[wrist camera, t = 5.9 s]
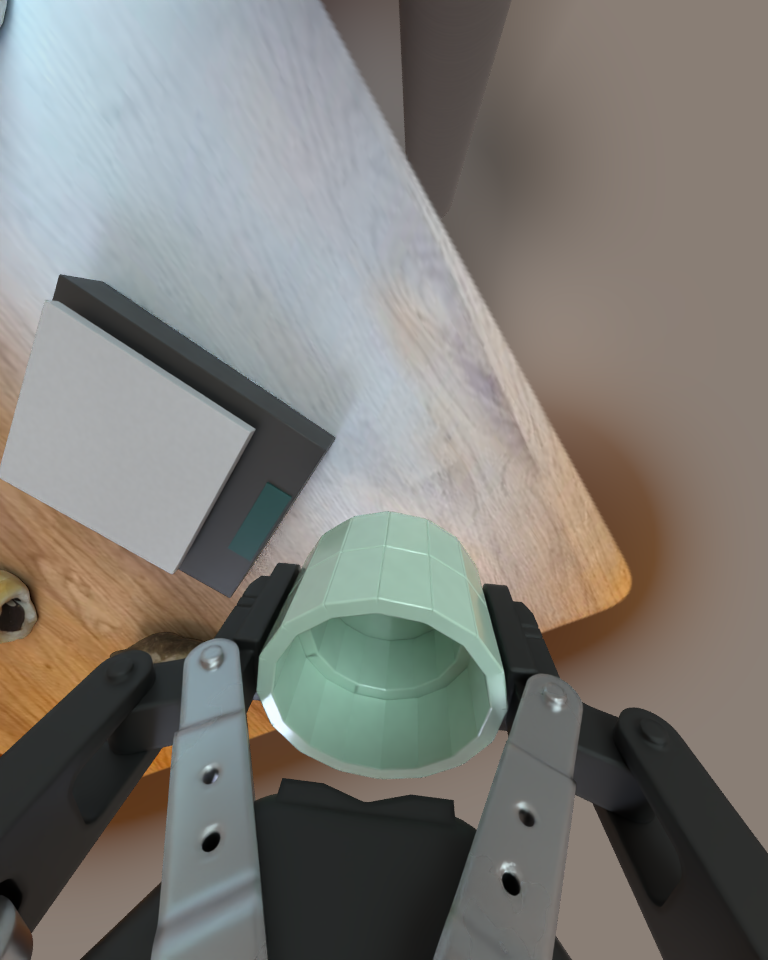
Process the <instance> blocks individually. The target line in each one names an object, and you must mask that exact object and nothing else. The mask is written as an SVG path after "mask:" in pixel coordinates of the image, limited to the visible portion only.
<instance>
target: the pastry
mask: <svg viewBox="0 0 768 960" xmlns="http://www.w3.org/2000/svg"><path fill="white" fill-rule="evenodd" d="M36 622H37V614H36V610H35V607H34V605H33V603H32V602H31V600H30V595H29V590H28V588H27V587H26V585H25V584H24V583H22V582H21V580H20V579H19V577H17V576H15V575H13V574H11V573H9V572H7V571H5V570H0V643H5V642H11V641H14V640H16V639H23V638H24V637H26V636H27V635H28V634H29V633H30V632H31V631H32V628H33V625H34V624H35V623H36Z"/></svg>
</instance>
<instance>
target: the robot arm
mask: <svg viewBox="0 0 768 960" xmlns="http://www.w3.org/2000/svg"><path fill="white" fill-rule="evenodd" d="M300 571H301V568H300V565H297V564H287V563H278V564H277V565H276V567H275V569H274V570H273V572H272V574H271V575H270V576H260V577H259V578H258V579H256V580H255V581H253V582H252V583H251V584H250V585H249V586H248V588H247V589H246V591H245V592H244V594H243V596H242V597H241V598H240V600H239V601H238V603H237V606H235V607H234V609H233V610H232V612H231V613H230V615H229V616H228V618H227V619H226V621H225V622H224V624H223V625H222V627H221V629H220V630H219V632H218V633H217V635H216V636H215V638H214V639H212V640H208V641H206V642H203V643H201V644H200V645H198V646H197V647H195V648H194V649H193V650H192V651H191V652H190V653H189V654H188V656H187V657H186V658H183V659H179V660H173V661H166V662H160V663H154V664H153V661H152V658H151V656H150V655H149V654H148V653H147V652H145V651H141V650H131V651H126V652H122V653H119V654H117V655H114V656H112V657H111V658H109V659H107V660H106V661H104V662H103V663H101V664H100V665H99V666H98V667H97V668H96V669H95V670H93V671H92V672H91V673H90V674H89V675H88V676H87V677H86V678H85V679H84V680H83V681H82V682H81V683H80V684H78V685H77V686H76V687H75V688H74V689H73V690H72V691H71V692H70V693H69V694H68V695H67V696H66V697H65V698H63V699H62V700H61V701H60V702H59V703H58V704H57V705H56V706H55V707H54V708H53V709H52V710H51V711H49V712H48V713H47V714H46V715H45V716H44V717H43V718H42V719H41V720H40V721H39V722H38V723H37V724H36V725H34V726H33V727H32V728H31V729H30V730H29V731H28V732H27V733H26V734H25V735H24V736H23V737H22V738H20V739H19V740H18V741H17V742H16V743H15V744H14V745H13V746H12V747H11V748H10V749H9V750H8V751H7V752H5V753H4V754H3V755H2V756H1V757H0V960H31V956H32V950H33V938H32V934H31V933H32V932H33V930H34V929H35V927H36V926H37V925H38V923H39V922H40V920H41V919H42V917H43V916H44V915H45V913H46V912H47V911H48V909H49V907H50V906H51V905H52V903H53V902H54V901H55V899H56V898H57V896H58V895H59V893H60V892H61V891H62V889H63V888H64V886H65V885H66V884H67V882H68V881H69V879H70V878H71V877H72V875H73V874H74V872H75V871H76V869H77V868H78V867H79V865H80V864H81V862H82V860H84V858H85V857H86V855H87V854H88V852H89V851H90V849H91V848H92V847H93V845H94V844H95V842H96V841H97V840H98V838H99V837H100V835H101V834H102V832H103V831H104V830H105V828H106V827H107V825H108V824H109V823H110V821H111V820H112V818H113V817H114V815H115V814H116V813H117V811H118V810H119V808H120V807H121V806H122V804H123V803H124V801H125V800H126V799H127V797H128V796H129V794H130V793H131V791H132V790H133V789H134V787H135V786H136V784H137V783H138V782H139V780H140V779H141V777H142V776H143V774H144V773H145V772H146V770H147V769H148V767H149V766H150V765H151V763H152V762H153V760H154V759H155V757H156V756H157V755H158V753H159V752H160V750H161V749H162V748H163V747H167V746H171V745H173V747H172V760H171V773H170V784H169V796H168V809H167V821H166V833H165V846H164V858H163V871H162V882H161V883H160V884H159V885H158V886H157V887H155V888H154V889H153V890H152V891H151V892H150V893H149V894H148V895H147V896H146V897H145V898H144V899H143V900H142V901H141V902H140V903H139V904H138V905H137V906H136V907H135V908H134V909H132V910H131V911H130V912H129V913H128V914H127V915H126V916H125V917H124V918H123V919H122V920H121V921H120V922H119V923H118V924H117V925H116V926H115V927H114V928H113V929H112V930H110V931H109V932H108V933H107V934H106V935H105V936H104V937H103V938H102V939H101V940H100V941H99V942H98V943H97V944H96V945H95V946H94V947H93V948H92V949H91V950H89V951H88V952H87V953H86V954H85V955H84V956H83V957H82V958H81V959H80V960H572V959H571V958H570V956H569V955H568V953H567V952H566V950H565V949H564V947H563V946H562V944H561V943H560V942H559V940H558V938H557V937H556V928H557V921H558V913H559V906H560V898H561V892H562V885H563V877H564V870H565V863H566V856H567V849H568V842H569V834H570V827H571V820H572V813H573V805H574V798H575V795H577V796H579V797H581V798H584V799H585V800H587V801H590V802H592V803H593V805H594V807H595V810H596V812H597V814H598V816H599V818H600V821H601V823H602V825H603V827H604V830H605V832H606V834H607V836H608V838H609V841H610V843H611V845H612V847H613V849H614V851H615V854H616V856H617V858H618V860H619V863H620V865H621V867H622V869H623V871H624V874H625V876H626V878H627V880H628V882H629V885H630V887H631V889H632V891H633V893H634V896H635V898H636V900H637V903H638V905H639V907H640V909H641V911H642V914H643V916H644V918H645V920H646V922H647V925H648V927H649V929H650V931H651V933H652V936H653V938H654V940H655V942H656V944H657V946H658V949H659V951H660V953H661V956H662V958H663V960H768V853H767V852H766V850H765V849H764V848H763V846H762V845H761V844H760V842H759V841H758V840H757V838H756V837H755V836H754V834H753V833H752V832H751V830H750V829H749V828H748V826H747V825H746V824H745V822H744V821H743V819H742V818H741V817H740V816H739V814H738V813H737V811H736V810H735V809H734V807H733V806H732V805H731V803H730V802H729V801H728V800H727V798H726V797H725V795H724V794H723V793H722V791H721V790H720V789H719V787H718V786H717V785H716V783H715V782H714V781H713V779H712V778H711V776H710V775H709V774H708V772H707V771H706V770H705V768H704V767H703V766H702V764H701V763H700V762H699V760H698V759H697V758H696V756H695V755H694V754H693V752H692V751H691V750H690V748H689V747H688V746H687V744H686V743H685V742H684V740H683V739H682V738H681V736H680V735H679V734H678V733H677V732H676V730H675V729H674V728H673V727H672V726H671V725H670V724H668V723H667V722H666V721H665V720H663V719H662V718H660V717H659V716H657V715H655V714H654V713H651V712H649V711H647V710H644V709H640V708H627V709H625V710H623V711H622V712H621V714H620V716H619V718H618V717H616V716H613V715H611V714H608V713H606V712H603V711H600V710H597V709H595V708H593V707H590V706H588V705H586V704H585V703H583V702H581V699H580V697H579V696H578V694H577V693H576V691H575V690H574V689H573V688H572V687H571V686H570V685H569V684H568V683H566V682H565V681H563V680H561V679H560V677H559V675H558V672H557V670H556V668H555V665H554V663H553V660H552V658H551V656H550V653H549V651H548V648H547V646H546V644H545V641H544V639H542V634H541V632H540V629H538V624H537V622H536V620H535V617H534V615H533V613H532V612H531V611H530V610H529V609H528V608H527V607H526V606H525V605H524V604H523V603H522V602H514V601H513V600H512V597H511V595H510V592H509V589H508V587H507V586H505V585H495V584H484V585H483V593H484V597H485V600H486V604H487V608H488V612H489V615H490V619H491V623H492V627H493V631H494V634H495V638H496V642H497V646H498V650H499V654H500V657H501V661H502V665H503V669H504V673H505V682H506V690H507V699H508V711H507V713H506V715H505V717H504V719H503V721H502V723H501V726H500V728H499V730H504V731H507V732H508V740H507V741H506V744H505V747H504V750H503V753H502V756H501V759H500V762H499V765H498V768H497V771H496V774H495V777H494V780H493V783H492V786H491V789H490V792H489V795H488V798H487V801H486V804H485V807H484V810H483V813H482V816H481V819H480V822H479V825H478V828H477V830H476V829H475V828H473V827H472V826H470V825H469V824H467V823H466V822H464V821H463V820H461V819H459V818H456V817H455V813H454V800H448V799H440V798H432V797H425V796H417V795H406V796H401V797H395V798H390V799H384V800H379V801H373V802H363V801H360V800H358V799H356V798H354V797H352V796H350V795H347V794H345V793H343V792H341V791H339V790H337V789H335V788H332V787H330V786H328V785H326V784H324V783H316V782H309V781H301V780H294V779H286V778H282V781H281V785H280V788H279V791H278V794H273V795H269V796H266V797H263V798H260V799H258V800H256V801H255V793H254V783H253V773H252V763H251V753H250V744H249V733H248V723H247V714H246V713H247V711H248V709H249V707H250V704H251V702H252V700H259V701H260V699H259V697H258V694H257V691H256V688H257V675H258V663H259V656H260V653H261V651H262V649H263V647H264V645H265V643H266V641H267V639H268V637H269V635H270V633H271V630H272V628H273V626H274V624H275V622H276V620H277V618H278V616H279V614H280V612H281V610H282V608H283V606H284V604H285V602H286V599H287V598H288V596H289V593H290V591H291V589H292V587H293V585H294V583H295V581H296V579H297V577H298V575H299V573H300Z"/></svg>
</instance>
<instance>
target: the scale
mask: <svg viewBox="0 0 768 960" xmlns="http://www.w3.org/2000/svg"><path fill="white" fill-rule="evenodd" d="M334 440H335V437H334V436H332V435H331V434H329V433H328V432H327V431H325V430H324V429H322V428H321V427H319V426H318V425H316V424H315V423H313V422H312V421H310V420H309V419H307V418H306V417H304V416H303V415H301V414H300V413H298V412H297V411H295V410H294V409H292V408H291V407H289V406H288V405H286V404H285V403H283V402H282V401H280V400H279V399H277V398H276V397H274V396H273V395H271V394H270V393H268V392H267V391H265V390H264V389H262V388H261V387H259V386H258V385H256V384H255V383H253V382H252V381H250V380H249V379H247V378H246V377H244V376H243V375H241V374H240V373H238V372H237V371H235V370H234V369H232V368H231V367H229V366H228V365H226V364H225V363H223V362H222V361H220V360H219V359H217V358H216V357H214V356H213V355H211V354H210V353H209V352H207V351H206V350H204V349H203V348H201V347H200V346H198V345H197V344H195V343H194V342H192V341H191V340H189V339H188V338H186V337H185V336H183V335H182V334H180V333H179V332H177V331H176V330H174V329H173V328H171V327H170V326H168V325H167V324H165V323H164V322H162V321H161V320H159V319H158V318H156V317H155V316H153V315H152V314H150V313H149V312H147V311H146V310H144V309H143V308H141V307H140V306H138V305H137V304H135V303H134V302H132V301H131V300H129V299H128V298H126V297H125V296H123V295H122V294H120V293H119V292H117V291H116V290H114V289H113V288H111V287H110V286H108V285H107V284H105V283H104V282H101V281H96V280H90V279H84V278H78V277H73V276H67V275H61V274H60V275H59V278H58V282H57V285H56V289H55V293H54V296H53V300H52V301H50V300H45V302H44V306H43V309H42V313H41V317H40V321H39V324H38V328H37V332H36V335H35V339H34V343H33V347H32V350H31V354H30V358H29V361H28V365H27V369H26V373H25V376H24V380H23V384H22V387H21V391H20V395H19V399H18V402H17V406H16V410H15V413H14V417H13V421H12V425H11V428H10V432H9V436H8V439H7V443H6V447H5V450H4V454H3V458H2V462H1V465H0V479H2V480H4V481H6V482H7V483H9V484H11V485H13V486H15V487H16V488H18V489H20V490H22V491H23V492H25V493H27V494H29V495H31V496H32V497H34V498H36V499H38V500H40V501H41V502H43V503H45V504H47V505H49V506H50V507H52V508H54V509H56V510H57V511H59V512H61V513H63V514H65V515H66V516H68V517H70V518H72V519H74V520H75V521H77V522H79V523H81V524H82V525H84V526H86V527H88V528H90V529H91V530H93V531H95V532H97V533H99V534H100V535H102V536H104V537H106V538H107V539H109V540H111V541H113V542H115V543H116V544H118V545H120V546H122V547H124V548H125V549H127V550H129V551H131V552H132V553H134V554H136V555H138V556H140V557H141V558H143V559H145V560H147V561H149V562H150V563H152V564H154V565H156V566H157V567H159V568H161V569H163V570H165V571H166V572H168V573H170V574H174V573H175V572H176V571H177V570H178V569H179V570H181V571H183V572H184V573H186V574H188V575H190V576H191V577H193V578H195V579H197V580H198V581H200V582H202V583H204V584H206V585H207V586H209V587H211V588H213V589H214V590H216V591H218V592H220V593H222V594H223V595H225V596H227V597H229V598H230V597H231V596H232V595H233V593H234V592H235V590H236V589H237V588H238V586H239V585H240V583H241V582H242V580H243V579H244V578H245V576H246V575H247V573H248V572H249V570H250V569H251V567H252V566H253V564H254V562H255V561H256V559H257V558H258V556H259V555H260V553H261V552H262V550H263V549H264V547H265V546H266V544H267V543H268V541H269V540H270V538H271V536H272V535H273V533H274V532H275V530H276V529H277V527H278V526H279V524H280V523H281V521H282V520H283V518H284V517H285V515H286V513H287V512H288V510H289V509H290V507H291V506H292V504H293V503H294V501H295V500H296V498H297V497H298V495H299V494H300V492H301V491H302V489H303V487H304V486H305V484H306V483H307V481H308V480H309V478H310V477H311V475H312V474H313V472H314V471H315V469H316V468H317V466H318V464H319V463H320V461H321V460H322V458H323V457H324V455H325V454H326V452H327V451H328V449H329V448H330V446H331V445H332V443H333V442H334Z"/></svg>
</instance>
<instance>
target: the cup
mask: <svg viewBox="0 0 768 960" xmlns="http://www.w3.org/2000/svg"><path fill="white" fill-rule="evenodd" d="M256 691H257V694H258V697H259V699H260V701H261V703H262V705H263V708H264V710H265V712H266V714H267V716H268V719H269V721H270V723H271V724H272V726H273V727H274V728H275V729H276V730H277V731H278V732H280V733H281V734H282V735H283V736H284V737H285V738H286V739H287V740H288V741H289V742H290V743H291V744H292V745H293V746H294V747H296V748H297V749H298V750H299V751H300V752H302V753H304V754H306V755H308V756H310V757H312V758H314V759H316V760H318V761H320V762H322V763H324V764H326V765H328V766H330V767H332V768H334V769H336V770H339V771H343V772H347V773H352V774H357V775H362V776H366V777H372V778H376V779H402V778H422V777H427V776H430V775H433V774H436V773H439V772H443V771H445V770H449V769H452V768H455V767H458V766H461V765H462V764H465V763H466V762H467V761H469V760H470V759H471V758H472V757H474V756H475V755H476V754H478V753H479V752H480V751H481V750H483V749H484V748H485V747H486V746H488V745H489V744H490V743H492V741H493V740H494V738H495V736H496V734H497V732H498V730H499V728H500V726H501V723H502V721H503V719H504V717H505V715H506V713H507V711H508V699H507V690H506V682H505V673H504V669H503V665H502V661H501V657H500V654H499V650H498V646H497V642H496V638H495V634H494V631H493V627H492V623H491V619H490V615H489V612H488V608H487V604H486V600H485V597H484V593H483V589H482V585H481V581H480V577H479V574H478V570H477V568H476V565H475V563H474V562H473V560H472V559H471V557H470V556H469V554H468V553H467V551H466V550H465V548H464V547H463V545H462V544H461V543H460V541H458V539H457V538H456V537H455V536H453V535H452V534H450V533H448V532H447V531H445V530H444V529H442V528H441V527H439V526H437V525H436V524H434V523H433V522H431V521H430V520H426V519H425V518H420V517H415V516H410V515H406V514H401V513H396V512H389V511H386V512H380V513H373V514H366V515H359V516H354V517H353V518H350V519H348V520H347V521H345V522H343V523H341V524H340V525H338V526H336V527H335V528H333V529H331V530H329V531H328V532H326V533H325V534H324V535H323V536H322V537H321V538H320V539H319V541H318V542H317V544H316V545H315V547H314V548H313V550H312V551H311V552H310V554H309V555H308V557H307V558H306V560H305V562H304V565H303V567H302V569H301V571H300V573H299V575H298V577H297V579H296V581H295V583H294V585H293V587H292V589H291V591H290V593H289V596H288V598H287V599H286V602H285V604H284V606H283V608H282V610H281V612H280V614H279V616H278V618H277V620H276V622H275V624H274V626H273V628H272V630H271V633H270V635H269V637H268V639H267V641H266V643H265V645H264V647H263V649H262V651H261V653H260V656H259V663H258V675H257V688H256Z"/></svg>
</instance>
